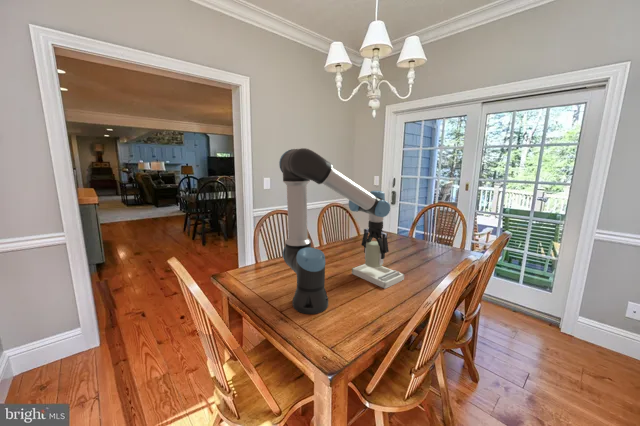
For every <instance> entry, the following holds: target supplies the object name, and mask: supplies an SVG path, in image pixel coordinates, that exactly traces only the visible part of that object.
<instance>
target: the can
mask: <svg viewBox="0 0 640 426" xmlns="http://www.w3.org/2000/svg"><path fill="white" fill-rule="evenodd" d="M380 252H381V251H380V246H379V245H378V242H377V240H371V242H366V259H365V258H364V260H365V262H364V264H366V265H367V266H369V267H381V266H383V264H382V265H379V253H380Z"/></svg>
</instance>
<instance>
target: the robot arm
mask: <svg viewBox="0 0 640 426" xmlns="http://www.w3.org/2000/svg"><path fill="white" fill-rule="evenodd" d="M278 163H279V164H278V167H279V169H280V171H281V173H282V182H283V183H284V184H285V186H286V200H287V202H286V203H287V204H286V205H287V206H286V207H287V231H288V233H287V235H288V238H287V239H285V242H284V243H285V245H284V248H283V250H282V258H283V260H284V263H285V264H286V265H287V266H288V267H289V268H290V269H291V270H292V271H293V272H294V273H295V274H296V290H295V292H294V295H293V298H292V308H293V309H294V310H295V311H297V312H298V313H300V314H301V313H302V314H305V315H315V314H320V313H322V312H324V311H326V310H327V308H328V307H329V297H328V295H327V290H326V287H325V286H326V285H325V280H326V278H325V276H326V256H325V253H324V252H323V251H322V250H321V249H318V248H315V247H312V240H311V239H310V238H309V237H308V202H307V201H308V195H307V194H308V189H307V187H308V186H307V185H308V184H309V183H310V181H312V182H314V183H315V184H317V185H324V186H326V187H327V188H329V189H330V190H332V191H333V192H335V193H336V194H339V195H340V196H342V197H344V198H345V199H346V200H348V208H349V210H350V211H351V212H362V213H365V214H368V220H369V221H368V228H363V236H362V240H361V246H363V248H364V249H363V250H364V251H363V252H364V260H365V259H366V242H371V241H373V239H375V241H377V242H378V245H379V246H380V251H381V252H380V253H379V265H382V266H383V265H384V260H385V257H386V254H387V253H389V252H390V251H389V245H388V243H389V242H388V233H387V232H386V233H385V232H384V231H383V228H384V218H386V217H387V216H388V215H389V214H390V212H391V205H390V203H389V201H387V200H386V195H385V191H383V190H371V191H368V190H366V189H365V188H364V187H362V186H361V185H359V184H358V183H356V182H355V181H353V180H352V179H350V178H349V177H347V176H346V175H345V174H343V173H342V172H341V171H339V170H337V169H335V168H334V167H333V164H332V163H331V162H330V161H328V160H327V159H326V158H324V157H322V156H321V155H320V154H318V153H316V152H315V151H314V150H311V149H309V148H303V147H302V148H301V147H300V148H291V149H288V150H286V151H285V152H284V153H283V154H282V155H281V156H280V158H279V162H278Z"/></svg>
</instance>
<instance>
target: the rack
mask: <svg viewBox="0 0 640 426" xmlns="http://www.w3.org/2000/svg"><path fill="white" fill-rule="evenodd" d="M351 275H354V276H356V277H358V278H361V279H363V280H365V281H367V282H368V283H369V282H370V283H371V284H374V285H376V286H378V287H380V288H381V289H382V288H383V289H385V290H386V289H388V288H390V287H391V286H392V287H393V286H394V285H396V284H399V283H401V282H402V280H403V281H404V280H405V274H404V273H401V272H400V271H398V270H396V269H394V270H393V269H391V268H388V267H386V266H383V265H382V266H381V267H369V266H367V265H366V264H365V263H363V264H360V265H358V266H356V267H352V268H351Z"/></svg>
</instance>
